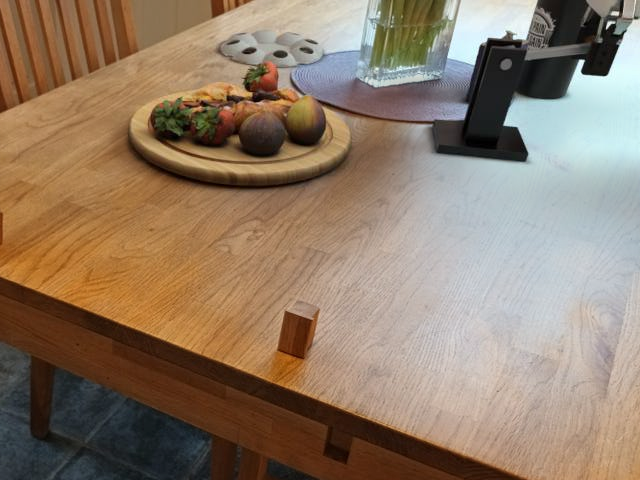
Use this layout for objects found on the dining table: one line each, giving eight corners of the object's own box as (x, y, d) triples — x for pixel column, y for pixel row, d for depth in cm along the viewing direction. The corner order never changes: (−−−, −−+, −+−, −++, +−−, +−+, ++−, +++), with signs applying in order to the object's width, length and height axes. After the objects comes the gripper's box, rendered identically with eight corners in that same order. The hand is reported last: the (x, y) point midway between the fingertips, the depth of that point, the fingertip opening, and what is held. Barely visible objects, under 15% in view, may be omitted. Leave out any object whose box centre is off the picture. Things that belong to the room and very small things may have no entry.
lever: (594, 49, 97) (597, 30, 95) (605, 62, 92) (609, 43, 91) (488, 61, 100) (489, 43, 99) (493, 75, 96) (495, 56, 95)
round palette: (199, 51, 137) (200, 40, 136) (258, 31, 149) (259, 20, 148) (285, 74, 128) (287, 62, 126) (341, 50, 139) (343, 39, 138)
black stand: (515, 134, 107) (547, 37, 99) (525, 161, 100) (562, 58, 91) (432, 126, 109) (457, 30, 101) (436, 152, 102) (464, 51, 93)
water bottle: (496, 81, 126) (542, -70, 112) (551, 79, 127) (604, -70, 113) (525, 101, 119) (579, -58, 104) (583, 99, 120) (644, -58, 105)
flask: (504, 93, 122) (526, 25, 115) (517, 99, 119) (539, 30, 113) (460, 99, 119) (479, 31, 112) (472, 105, 117) (493, 36, 110)
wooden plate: (205, 88, 121) (207, 36, 116) (384, 132, 107) (396, 76, 102) (82, 149, 101) (79, 89, 96) (284, 213, 87) (293, 148, 82)
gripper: (708, -79, 77) (636, 91, 88) (659, -100, 90) (602, 50, 101) (632, -82, 78) (570, 85, 90) (595, -103, 91) (545, 46, 103)
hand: (587, 65), depth 95 cm, fingers closed on lever, 6 cm apart
